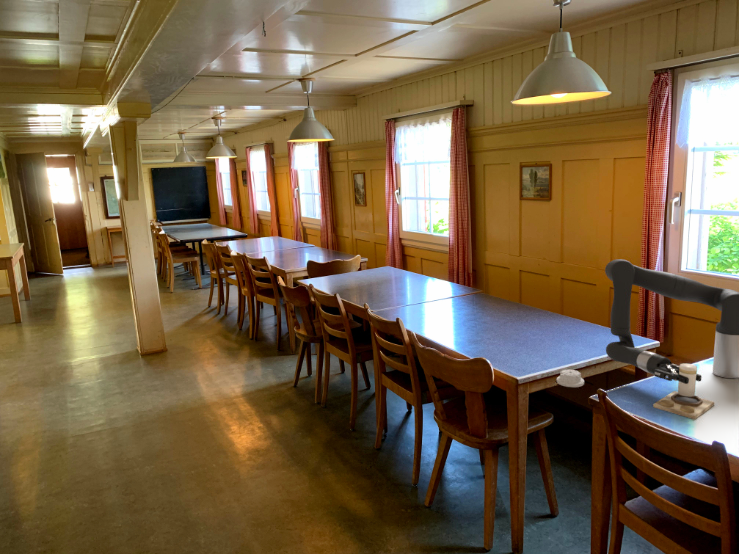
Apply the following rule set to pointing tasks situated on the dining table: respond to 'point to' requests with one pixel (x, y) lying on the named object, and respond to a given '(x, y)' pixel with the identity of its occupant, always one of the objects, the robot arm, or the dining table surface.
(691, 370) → the cylinder
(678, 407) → the board
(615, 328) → the robot arm
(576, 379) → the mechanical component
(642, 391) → the dining table surface
